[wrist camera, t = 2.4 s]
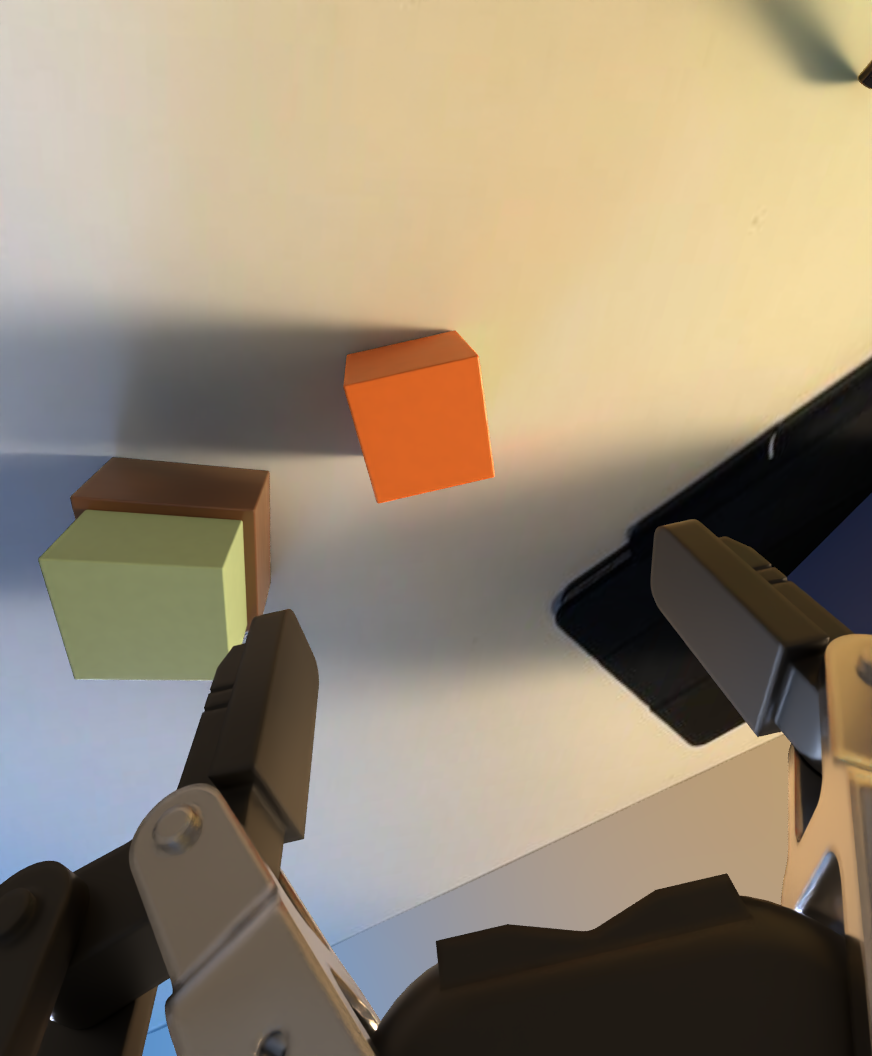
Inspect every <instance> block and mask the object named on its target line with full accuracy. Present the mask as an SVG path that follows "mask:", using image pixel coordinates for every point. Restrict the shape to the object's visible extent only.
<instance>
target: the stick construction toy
mask: <svg viewBox="0 0 872 1056" xmlns="http://www.w3.org/2000/svg"><path fill="white" fill-rule="evenodd" d="M858 80H859V82H860V83H861V84H863V85H864V86H865V87H867V88H869V89H872V60H871V62H870V63H869V64H868V65H867V66H866V68H865V69H864V70H863V71H862V72H861V73H860V75H859V76H858Z"/></svg>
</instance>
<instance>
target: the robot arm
mask: <svg viewBox="0 0 872 1056" xmlns="http://www.w3.org/2000/svg"><path fill="white" fill-rule="evenodd" d="M651 590H652V594H653V597H654V600H655V602H656V604H657V606H658V608H659V609H660V611H661V612H662V613H663V615H664V616H665V617H666V618H667V620H668V621H669V622H670V624H671V625H672V626H673V628H674V629H675V630H676V631H677V633H678V634H679V635H680V637H681V638H682V639H683V641H684V642H685V643H686V644H687V646H688V647H689V648H690V650H691V651H692V652H693V654H694V655H695V656H696V657H697V659H698V660H699V661H700V663H701V664H702V665H703V667H704V668H705V669H706V670H707V672H708V673H709V674H710V676H711V677H712V678H713V680H714V681H715V682H716V683H717V685H718V686H719V687H720V689H721V690H722V691H723V693H724V694H725V695H726V696H727V698H728V699H729V700H730V702H731V703H732V704H733V706H734V707H735V708H736V709H737V711H738V712H739V713H740V715H741V716H742V717H743V719H744V720H745V721H746V722H747V724H748V725H749V726H750V728H751V729H752V730H753V732H754V733H755V734H756V735H757V737H759V736H764V735H768V734H772V733H777V732H781V731H782V732H783V733H784V735H785V736H786V737H787V738H788V739H789V740H790V742H791V745H790V748H789V753H788V857H787V865H786V870H785V875H784V880H783V887H782V896H781V905H779V904H775V903H773V902H769V901H766V900H762V899H757V898H752V897H747V896H739V894H738V892H737V890H736V889H735V887H734V885H733V883H732V881H731V880H730V878H729V876H728V874H722V875H718V876H714V877H710V878H706V879H701V880H697V881H692V882H688V883H684V884H680V885H675V886H671V887H667V888H662V889H658V890H655V891H654V892H652V893H650V894H649V895H647V896H646V897H644V898H642V899H641V900H639V901H638V902H636V903H635V904H633V905H632V906H630V907H628V908H627V909H625V910H624V911H622V912H621V913H619V914H618V915H616V916H614V917H613V918H611V919H610V920H608V921H606V922H605V923H603V924H602V925H601V926H599V927H597V928H595V929H593V930H590V931H572V930H562V929H551V928H540V927H530V926H520V925H509V924H507V925H503V926H498V927H494V928H490V929H486V930H482V931H477V932H473V933H468V934H464V935H460V936H455V937H451V938H447V939H442V940H439V941H436V947H437V957H438V963H437V964H436V965H434V966H433V967H431V968H429V969H428V970H426V971H425V972H424V973H423V974H422V975H421V976H419V977H418V978H417V979H416V980H415V981H414V982H413V983H411V984H410V985H409V986H408V987H407V988H406V990H405V991H404V992H403V993H402V994H401V995H400V996H399V997H398V998H397V999H396V1001H395V1002H394V1004H393V1005H392V1006H391V1008H390V1009H389V1010H388V1012H387V1013H386V1014H385V1016H384V1017H383V1019H382V1020H381V1021H380V1019H379V1018H378V1016H377V1015H376V1013H375V1011H374V1010H373V1008H372V1007H371V1005H370V1004H369V1002H368V1001H367V1000H366V998H365V996H364V995H363V993H362V992H361V990H360V989H359V987H358V986H357V984H356V983H355V981H354V980H353V979H352V977H351V976H350V974H349V973H348V972H347V970H346V969H345V967H344V966H343V965H342V963H341V962H340V960H339V959H338V957H337V956H336V954H335V953H334V951H333V949H332V948H331V946H330V945H329V943H328V942H327V940H326V938H325V937H324V935H323V934H322V932H321V931H320V929H319V927H318V926H317V924H316V923H315V921H314V920H313V918H312V916H311V915H310V913H309V912H308V910H307V909H306V907H305V905H304V904H303V902H302V901H301V899H300V898H299V896H298V894H297V893H296V891H295V890H294V888H293V887H292V885H291V883H290V882H289V880H288V879H287V877H286V876H285V874H284V872H283V871H282V870H281V868H280V866H281V858H282V851H283V844H284V843H288V842H292V841H297V840H301V839H304V833H305V823H306V812H307V802H308V792H309V781H310V771H311V761H312V750H313V740H314V730H315V719H316V709H317V699H318V689H319V675H318V668H317V663H316V660H315V657H314V655H313V652H312V650H311V648H310V646H309V644H308V642H307V640H306V637H305V635H304V633H303V631H302V629H301V627H300V624H299V622H298V620H297V618H296V616H295V614H294V612H293V611H292V610H291V609H286V610H282V611H277V612H273V613H268V614H264V615H259V616H256V617H254V618H253V619H252V622H251V625H250V628H249V632H248V635H247V639H246V643H245V644H240V645H236V646H233V647H232V649H231V650H230V651H229V653H228V654H227V655H226V657H225V658H224V659H223V661H222V662H221V663H220V665H219V666H218V667H217V670H216V673H215V676H214V679H213V682H212V685H211V688H210V690H211V693H210V694H208V697H207V700H206V704H205V707H204V709H205V712H203V713H202V716H201V719H200V722H199V725H198V728H197V731H196V734H195V737H194V740H193V743H192V746H191V749H190V752H189V755H188V758H187V761H186V764H185V767H184V770H183V773H182V776H181V779H180V782H179V785H178V788H177V790H176V791H174V792H172V793H171V794H169V795H168V796H166V797H165V798H164V799H162V800H161V801H160V802H159V803H158V804H157V805H156V806H155V807H154V808H153V809H152V810H151V811H150V812H149V813H148V814H147V816H146V817H145V818H144V819H143V821H142V822H141V824H140V826H139V827H138V829H137V831H136V833H135V835H134V837H133V839H132V840H131V841H129V842H128V843H126V844H124V845H122V846H120V847H119V848H117V849H115V850H113V851H111V852H109V853H108V854H106V855H104V856H102V857H100V858H98V859H97V860H95V861H93V862H91V863H89V864H87V865H86V866H84V867H82V868H80V869H78V870H76V871H74V872H72V871H70V870H69V869H68V868H66V867H65V866H64V865H62V864H61V863H59V862H56V861H43V862H39V863H36V864H33V865H30V866H28V867H26V868H24V869H22V870H20V871H19V872H17V873H16V874H14V875H13V876H11V877H10V878H9V879H7V880H6V881H5V882H3V883H2V884H1V885H0V1056H142V1053H143V1049H144V1044H145V1040H146V1036H147V1031H148V1027H149V1023H150V1018H151V1014H152V1009H153V1005H154V1001H155V996H156V992H157V987H158V985H159V984H161V983H162V982H164V981H166V980H167V979H169V978H170V979H171V983H172V988H173V994H172V995H171V996H170V997H169V998H168V999H167V1001H166V1004H165V1015H166V1021H167V1025H168V1029H169V1032H170V1036H171V1039H172V1042H173V1045H174V1048H175V1051H176V1054H177V1056H872V635H868V634H855V633H853V632H852V631H851V630H850V629H849V628H847V627H846V626H845V625H844V624H843V623H841V622H840V621H839V620H838V619H837V618H835V617H834V616H833V615H832V614H831V613H829V612H828V611H827V610H826V609H825V608H823V607H822V606H821V605H820V604H819V603H817V602H816V601H815V600H814V599H813V598H811V597H810V596H809V595H808V594H807V593H805V592H804V591H803V590H802V589H801V588H799V587H798V586H797V585H796V584H795V583H793V582H792V581H788V580H787V577H786V576H785V575H784V574H783V573H781V572H780V571H779V570H778V569H777V568H775V567H773V568H772V567H771V563H769V562H768V561H767V560H766V559H765V558H763V557H762V556H761V555H760V554H759V553H757V552H756V551H755V550H754V549H753V548H751V547H749V546H746V545H744V544H742V543H740V542H738V541H735V540H733V539H731V538H729V537H726V536H724V537H720V538H718V537H717V536H716V535H714V534H713V533H712V532H711V531H710V530H709V529H708V528H706V527H705V526H704V525H703V524H702V523H701V522H699V521H698V520H696V519H691V520H686V521H682V522H677V523H673V524H668V525H664V526H660V527H658V528H657V529H656V530H655V533H654V542H653V555H652V568H651Z"/></svg>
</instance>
